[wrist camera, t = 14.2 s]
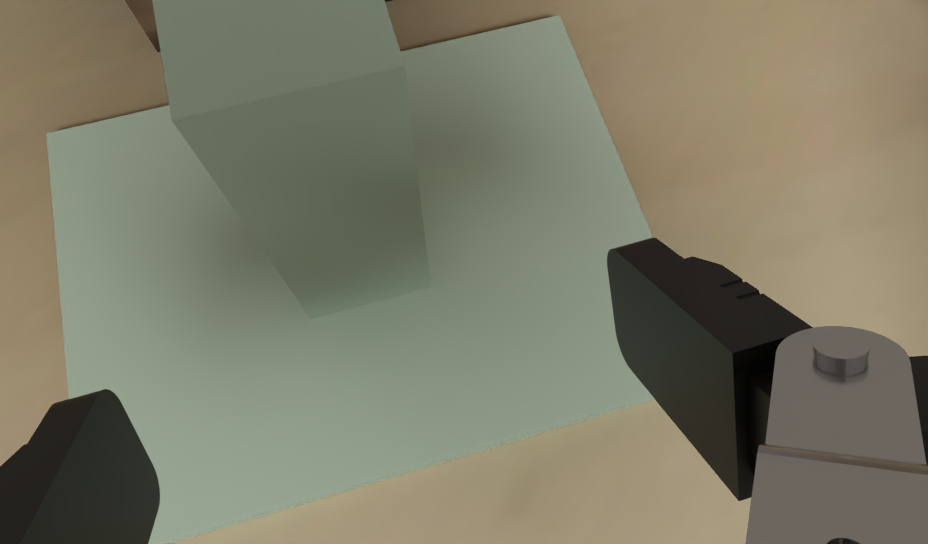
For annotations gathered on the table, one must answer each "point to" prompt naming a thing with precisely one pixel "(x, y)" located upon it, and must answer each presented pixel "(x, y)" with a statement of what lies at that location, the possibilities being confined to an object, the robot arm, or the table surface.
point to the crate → (148, 18)
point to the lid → (340, 253)
